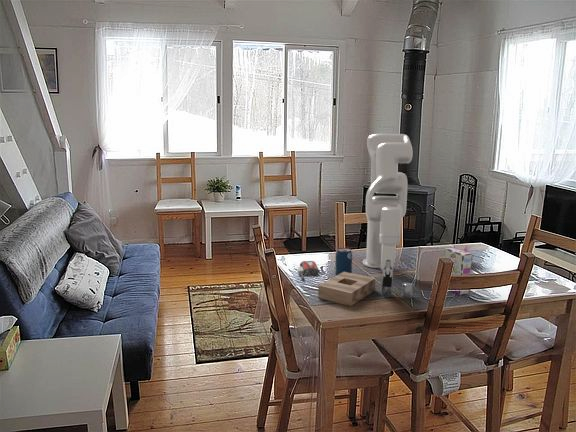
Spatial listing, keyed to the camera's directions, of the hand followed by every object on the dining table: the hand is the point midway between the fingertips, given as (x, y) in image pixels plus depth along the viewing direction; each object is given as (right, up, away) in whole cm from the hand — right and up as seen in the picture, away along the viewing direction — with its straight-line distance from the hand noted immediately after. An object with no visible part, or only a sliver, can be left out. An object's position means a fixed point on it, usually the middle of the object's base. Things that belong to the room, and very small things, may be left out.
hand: (387, 282), depth 203 cm
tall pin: (0, -5, +1) cm, 5 cm away
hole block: (-15, -5, +2) cm, 16 cm away
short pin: (+7, -5, 0) cm, 9 cm away
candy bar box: (+28, -4, +7) cm, 30 cm away
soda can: (-15, -1, +22) cm, 26 cm away
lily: (+43, +3, +41) cm, 59 cm away
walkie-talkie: (-29, 0, +26) cm, 39 cm away
